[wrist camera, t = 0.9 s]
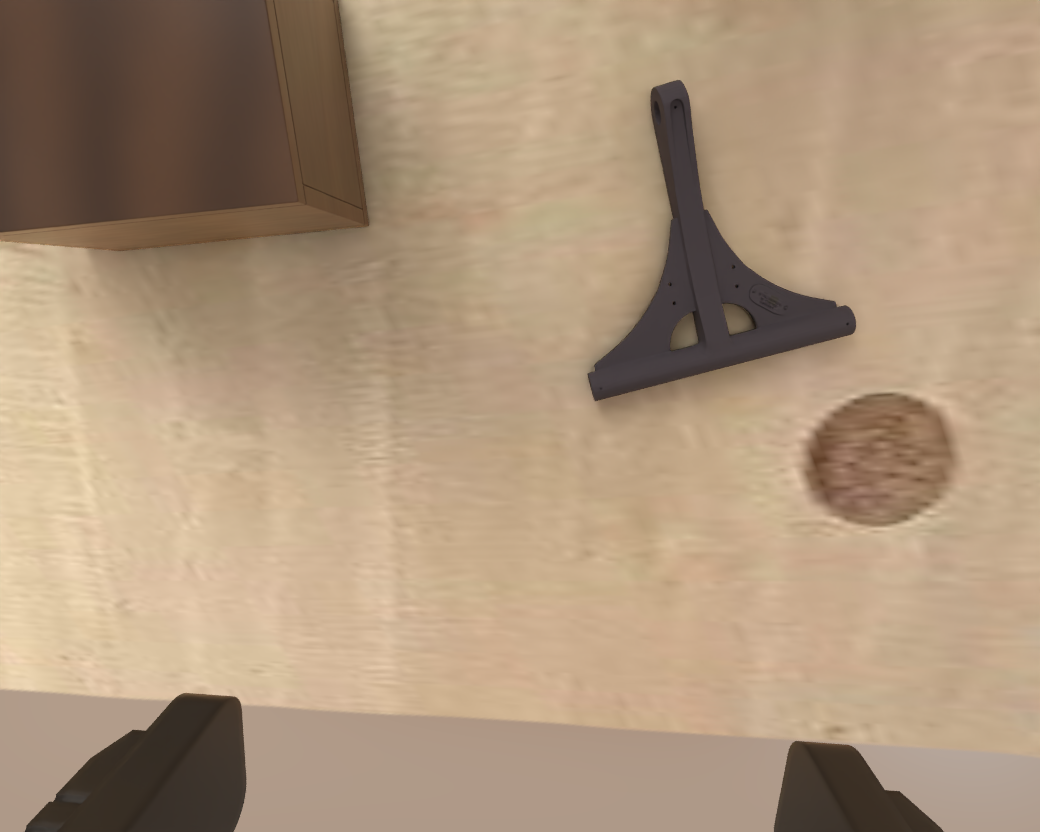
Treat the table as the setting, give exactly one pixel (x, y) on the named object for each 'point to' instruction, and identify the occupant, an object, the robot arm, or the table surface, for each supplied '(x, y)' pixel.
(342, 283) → the table surface
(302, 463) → the table surface
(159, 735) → the robot arm
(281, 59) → the cabinet
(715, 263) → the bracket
